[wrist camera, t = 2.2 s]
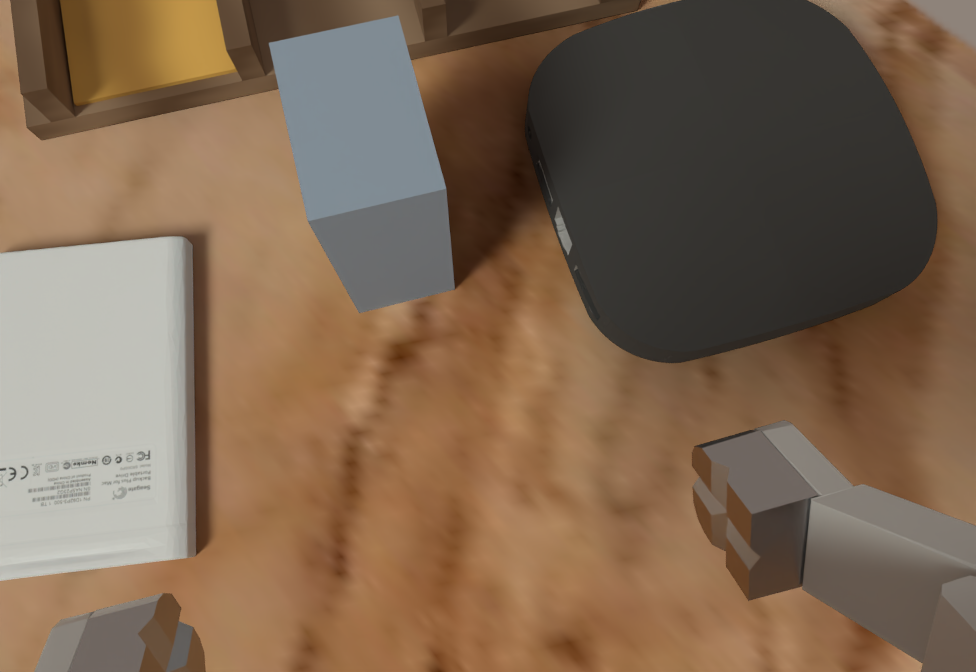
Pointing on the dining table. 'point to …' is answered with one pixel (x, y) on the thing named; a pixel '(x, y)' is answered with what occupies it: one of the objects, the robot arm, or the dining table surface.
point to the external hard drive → (96, 406)
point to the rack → (224, 47)
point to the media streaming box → (725, 175)
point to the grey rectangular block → (367, 161)
